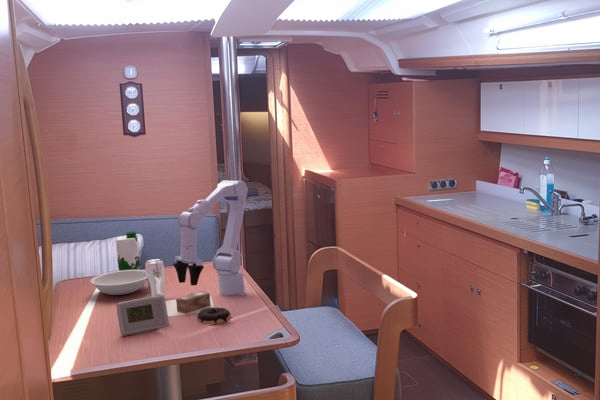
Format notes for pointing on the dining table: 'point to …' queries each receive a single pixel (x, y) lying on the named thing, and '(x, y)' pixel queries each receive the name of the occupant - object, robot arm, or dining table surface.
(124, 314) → the digital clock
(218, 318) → the donut
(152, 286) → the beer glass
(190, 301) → the brown rectangular box
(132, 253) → the milk carton
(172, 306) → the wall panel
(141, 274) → the soup bowl
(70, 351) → the dining table surface
